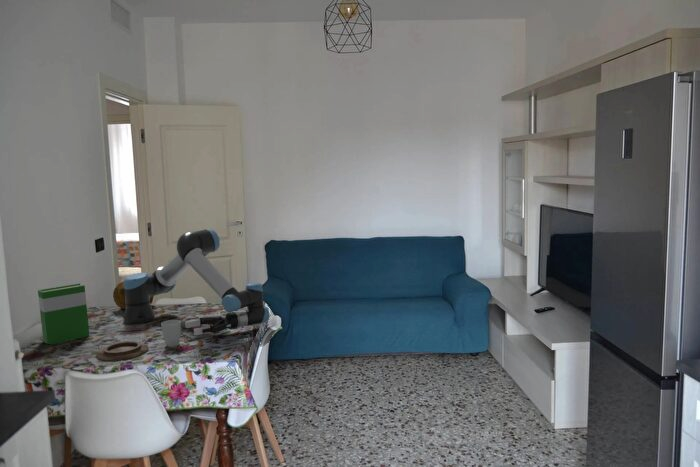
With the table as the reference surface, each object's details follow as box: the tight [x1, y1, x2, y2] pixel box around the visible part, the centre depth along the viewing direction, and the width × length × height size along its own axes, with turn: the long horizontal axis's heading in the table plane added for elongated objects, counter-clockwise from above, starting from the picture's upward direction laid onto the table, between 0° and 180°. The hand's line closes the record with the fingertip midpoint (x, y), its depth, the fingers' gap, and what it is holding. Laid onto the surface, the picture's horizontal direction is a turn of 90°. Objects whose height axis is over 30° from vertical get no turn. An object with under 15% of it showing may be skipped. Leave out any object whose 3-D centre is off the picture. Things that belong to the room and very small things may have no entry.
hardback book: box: [37, 283, 91, 345], centre depth 250 cm, size 18×7×24 cm, turn 133°
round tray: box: [96, 340, 149, 362], centre depth 229 cm, size 20×20×2 cm
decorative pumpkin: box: [112, 280, 155, 310], centre depth 303 cm, size 20×21×20 cm
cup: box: [160, 319, 182, 348], centre depth 236 cm, size 8×8×10 cm
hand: (189, 328), depth 239 cm, fingers open, 13 cm apart
